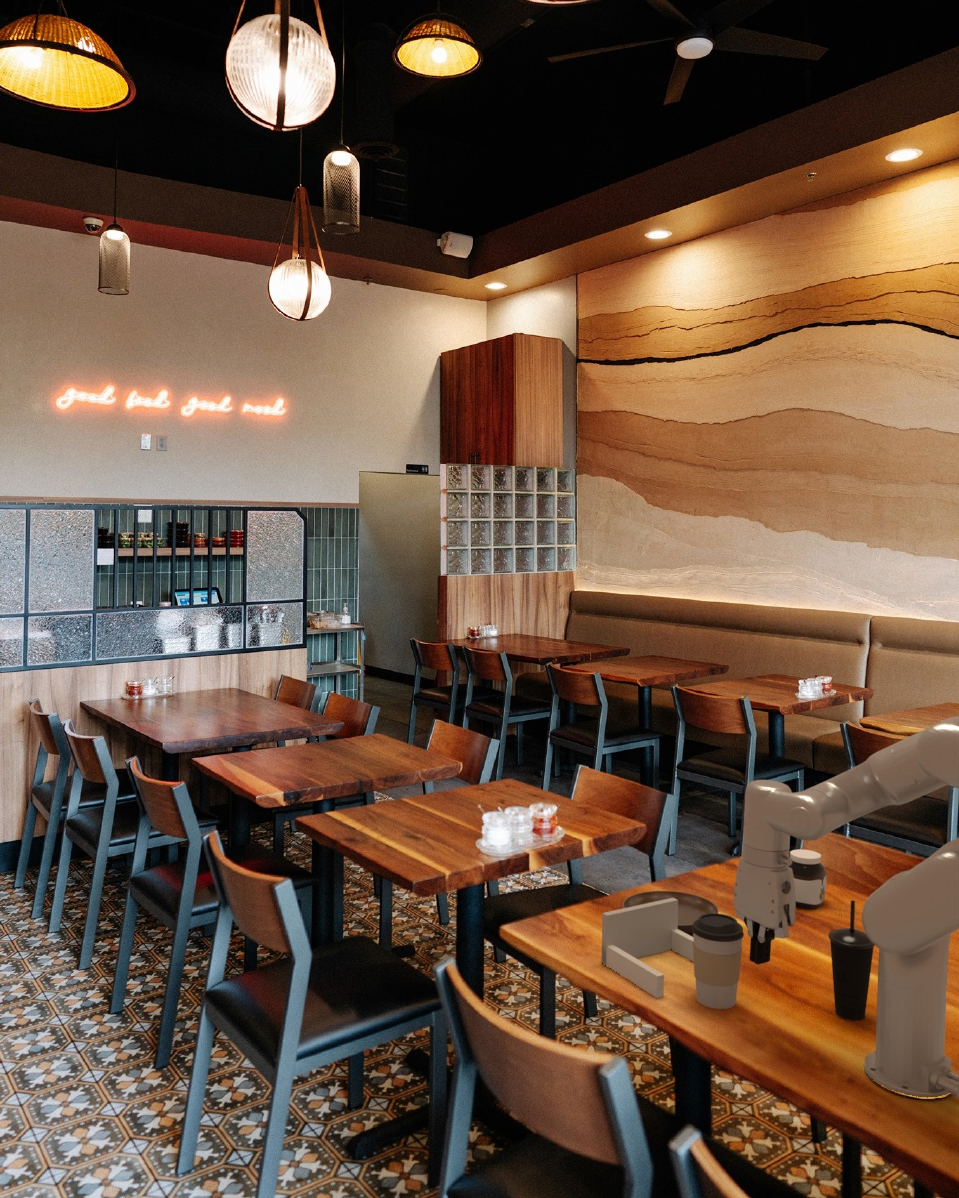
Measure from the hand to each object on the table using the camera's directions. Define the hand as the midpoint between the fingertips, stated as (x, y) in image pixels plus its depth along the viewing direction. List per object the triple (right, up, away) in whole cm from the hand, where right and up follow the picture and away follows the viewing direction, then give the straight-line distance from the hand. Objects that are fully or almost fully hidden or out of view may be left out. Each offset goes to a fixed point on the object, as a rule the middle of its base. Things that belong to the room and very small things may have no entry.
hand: (759, 960), depth 158 cm
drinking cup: (+17, -11, +5) cm, 21 cm away
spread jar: (+27, -9, +60) cm, 67 cm away
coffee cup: (-5, -11, +10) cm, 15 cm away
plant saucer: (-6, -10, +47) cm, 48 cm away
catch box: (-11, -10, +21) cm, 26 cm away
